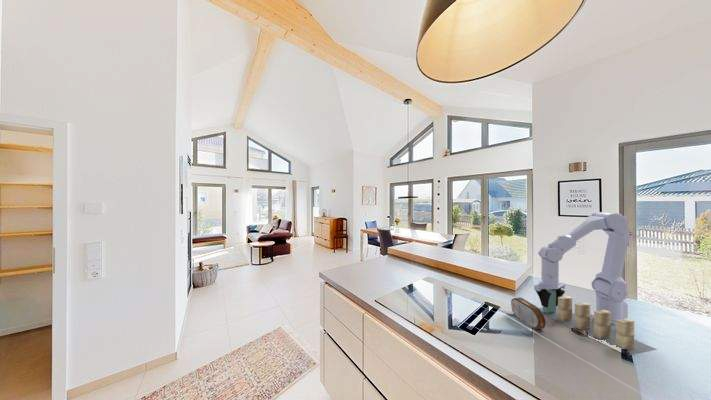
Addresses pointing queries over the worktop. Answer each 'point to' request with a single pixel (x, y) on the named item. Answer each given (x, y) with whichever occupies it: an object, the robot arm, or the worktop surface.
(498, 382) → the worktop surface
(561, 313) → the domino
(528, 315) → the tin
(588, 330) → the felt mat
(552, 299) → the domino
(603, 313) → the domino
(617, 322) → the domino
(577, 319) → the domino
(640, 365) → the worktop surface
